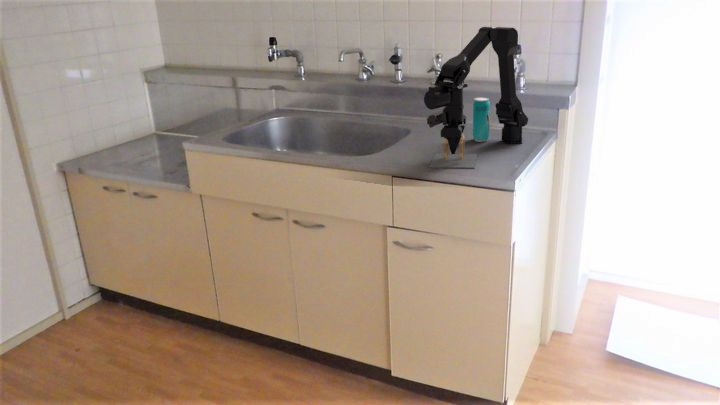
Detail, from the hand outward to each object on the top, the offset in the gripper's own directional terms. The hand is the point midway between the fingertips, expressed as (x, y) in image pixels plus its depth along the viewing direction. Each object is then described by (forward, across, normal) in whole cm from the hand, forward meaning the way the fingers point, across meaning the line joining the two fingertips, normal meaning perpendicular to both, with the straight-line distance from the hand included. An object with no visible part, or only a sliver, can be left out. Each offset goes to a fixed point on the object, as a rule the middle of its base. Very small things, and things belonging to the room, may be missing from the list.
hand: (453, 151), depth 193 cm
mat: (+3, 0, 0) cm, 3 cm away
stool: (+2, 0, 0) cm, 2 cm away
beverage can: (+4, -25, +7) cm, 26 cm away
